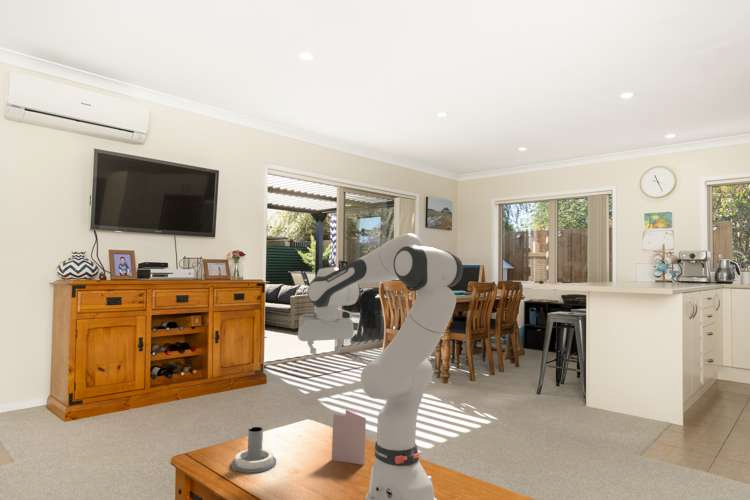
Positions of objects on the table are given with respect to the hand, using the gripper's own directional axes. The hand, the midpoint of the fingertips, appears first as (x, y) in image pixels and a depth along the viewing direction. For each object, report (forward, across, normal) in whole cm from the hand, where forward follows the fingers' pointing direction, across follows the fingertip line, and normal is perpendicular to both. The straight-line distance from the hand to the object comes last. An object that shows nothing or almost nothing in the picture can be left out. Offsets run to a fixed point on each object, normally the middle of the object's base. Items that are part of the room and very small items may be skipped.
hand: (325, 352), depth 169 cm
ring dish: (+34, -24, 0) cm, 42 cm away
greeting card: (+34, +4, -11) cm, 36 cm away
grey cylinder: (+34, -24, 0) cm, 41 cm away
